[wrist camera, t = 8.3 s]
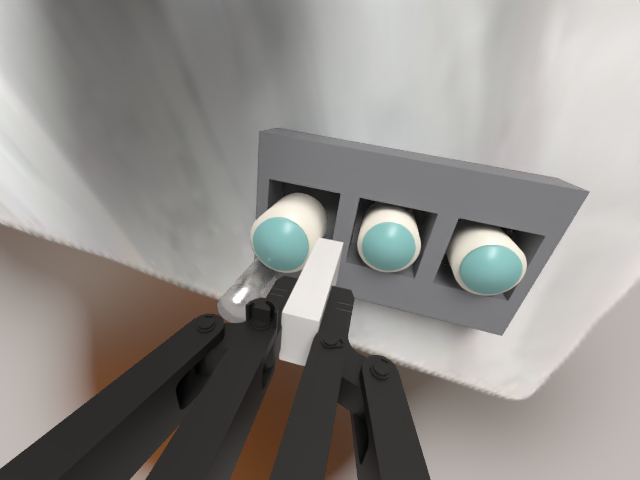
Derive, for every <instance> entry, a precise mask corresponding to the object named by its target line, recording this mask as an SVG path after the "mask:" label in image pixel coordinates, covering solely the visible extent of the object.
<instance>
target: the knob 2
mask: <svg viewBox="0 0 640 480" xmlns="http://www.w3.org/2000/svg"><path fill="white" fill-rule="evenodd" d="M445 253H446V256H447V258H448V261H449V263H450V266H451V269H452V271H453V274H454V276H455V279H456V281H457V282H458V284H459V285H460V286H461V287H462V288H463V289H465V290H466V291H468V292H471V293H473V294H477V295H485V296H487V295H496V294H500V293H503V292H506V291H508V290H510V289H512V288H513V287H514V286H516V285H517V284H518V283H519V282H520V281H521V279H522V278H523V276H524V274H525V272H526V268H527V261H526V257H525V255H524V253H523V252H522V251H521V250H520V249H519V247H518V246H517V245H516V244H515V243H514V242H513V241H512V240H511V239H510V238H509V237H508V236H507V234H506V233H505V232H504V231H503V230H502V229H501V228H500V227H499V226H495V225H490V224H485V223H480V222H476V221H471V220H466V219H463V220H461V221H459V222H457V224H456V226H455V229H454V231H453V234H452V236H451V239H450V241H449V244H448V246H447V249H446V251H445Z"/></svg>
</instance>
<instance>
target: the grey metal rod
mask: <svg viewBox="0 0 640 480" xmlns="http://www.w3.org/2000/svg"><path fill="white" fill-rule="evenodd" d="M277 273H278V271H275V270H273V269H271V268H269V267H267V266H266V265H265V264H263V263H262V262H261V261H260V260H259V259H258V257H257V258H256V259H255V260H254V261H253V262H252V264H251V265H250V266H249V267H248V268H247V269H246V270H245V272H244V273H243V274H242V275H241V276H240V277H239V278H238V279H237V281H236V282H235V283H234V284H233V285H232V286H231V287H230V288H229V290H228V291H227V292H226V293H225V294H224V295H223V296H222V298H221V299H220V300H219V301H218V303H217V308H218V311H219V313H220V315H221V316H222V317H223V318H224V319H226V320H227V321H229V322H231V323H240V322H244V321H246V308H245V305H246V304H247V303H248V302H249V301H251V300H254V299H257V298H261V297H262V296H263V294H264V293H265V291H266V290H267V288H268V287H269V285H270V284H271V282H272V281H273V279H274V278H275V276H276V275H277Z"/></svg>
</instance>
